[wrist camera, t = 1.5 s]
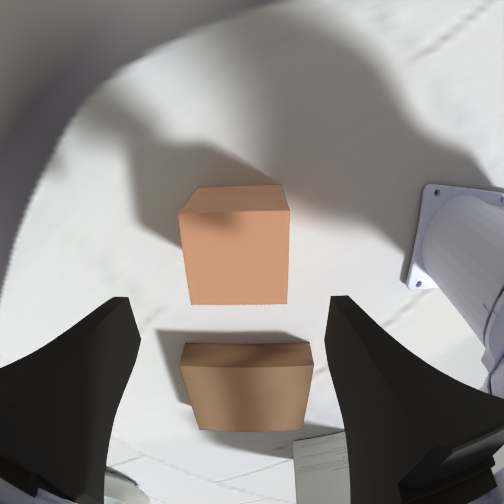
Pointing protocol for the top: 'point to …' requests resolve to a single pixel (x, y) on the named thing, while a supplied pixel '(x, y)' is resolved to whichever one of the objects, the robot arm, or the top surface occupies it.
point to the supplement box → (322, 470)
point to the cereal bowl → (122, 491)
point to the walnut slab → (248, 385)
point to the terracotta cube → (236, 245)
